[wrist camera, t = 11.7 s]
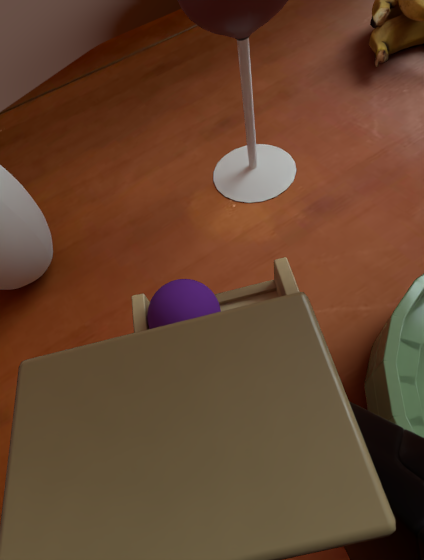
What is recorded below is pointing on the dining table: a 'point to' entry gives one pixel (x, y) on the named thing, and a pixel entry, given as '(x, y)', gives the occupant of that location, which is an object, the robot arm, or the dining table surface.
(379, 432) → the robot arm
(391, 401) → the green bowl
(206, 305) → the ball
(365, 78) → the dining table surface
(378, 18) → the banana
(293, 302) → the scoop
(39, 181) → the dining table surface
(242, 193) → the wineglass
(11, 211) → the sauce bottle
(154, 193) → the dining table surface
